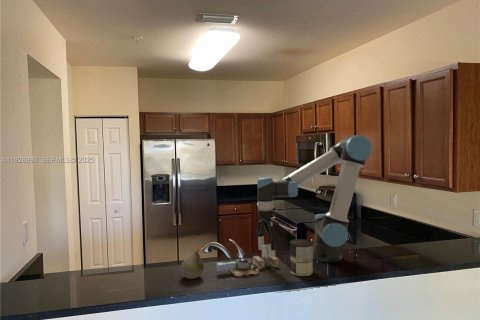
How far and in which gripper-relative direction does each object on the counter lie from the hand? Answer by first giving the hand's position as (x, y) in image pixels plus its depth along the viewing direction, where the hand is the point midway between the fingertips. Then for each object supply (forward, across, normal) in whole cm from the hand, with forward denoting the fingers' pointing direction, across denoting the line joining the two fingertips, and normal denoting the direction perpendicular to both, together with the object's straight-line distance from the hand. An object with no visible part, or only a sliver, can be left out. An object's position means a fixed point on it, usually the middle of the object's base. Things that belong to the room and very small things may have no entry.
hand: (266, 253), depth 172 cm
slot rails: (+6, 0, -1) cm, 6 cm away
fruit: (+6, +4, -38) cm, 38 cm away
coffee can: (+7, +14, +11) cm, 19 cm away
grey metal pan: (+4, +4, -18) cm, 19 cm away
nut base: (+6, +4, -14) cm, 15 cm away
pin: (+6, 0, -1) cm, 6 cm away
